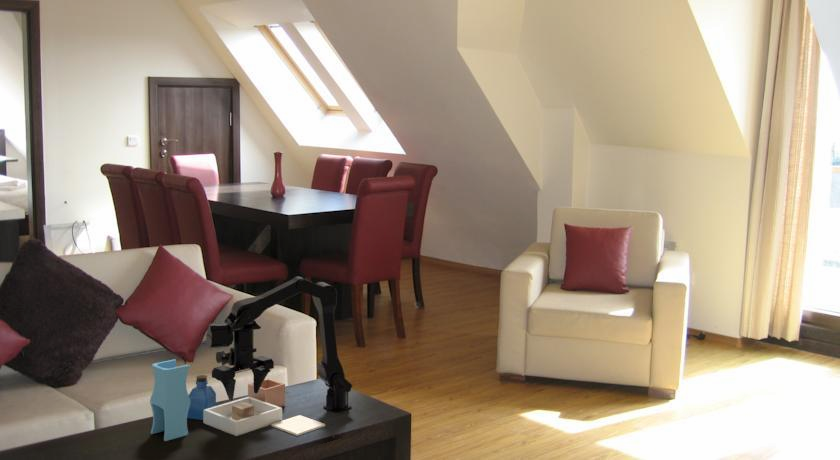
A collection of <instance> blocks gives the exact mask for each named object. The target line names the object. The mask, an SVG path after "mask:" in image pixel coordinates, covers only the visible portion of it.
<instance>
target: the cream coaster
mask: <svg viewBox="0 0 840 460" xmlns="http://www.w3.org/2000/svg"><path fill="white" fill-rule="evenodd" d="M270 426H271V427H272V428H275V429H278V430H280V431H283V432H286V433H288V434H290V435H294V436H296V437H298V436H302V435H304V434H307V433H310V432H312V431H315V430H318V429H320V428H321V429H322V428H324V427H326V423H323V422H321V421H318V420H315V419H311V418H309V417H307V416H303V415H301V414H299V415H298V414H297V415H295V416H293V417H289V418H286V419H282V421H280V422H277V423H274V424H271V425H270Z"/></svg>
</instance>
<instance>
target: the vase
mask: <svg viewBox="0 0 840 460" xmlns="http://www.w3.org/2000/svg"><path fill="white" fill-rule="evenodd" d="M151 366H152V367H151V368H152V371H153V375H154V385H153V386H154V387H153V389H152V394H151V396H150V399H149V403H150V407H151V411H152V418H153V419H152V425H151V430H150V434H151V435H153V434H154V435H155V434H157V433H161V432H164V434H163V441H164V442H167V441H170V440H175V439H177V438H178V439H179V438H181V437H185V436H188V435H189V429H188V418H187V415H188V410H189V407H190V398H189V394H188V390H187V378H188V377H187V376H188V373H189V371H190V370H189V369H190V366H191V364H185V365H181V366H177V359H176V358H175V359H170V360H166V361H165V360H164V361H161V362H160V361H159V362H155V363H152V364H151Z"/></svg>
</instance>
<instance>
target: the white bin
mask: <svg viewBox="0 0 840 460" xmlns="http://www.w3.org/2000/svg"><path fill="white" fill-rule="evenodd" d="M243 402H246V403H248V404H251V405H254V416H250V417H247V418H244V419H241V420H238V421H236V420H234V419H232V405H236V404H239V403H243ZM280 421H283V407H278V406H275V405H272V404H270V403H267V402H264V401H261V400H258V399H255V398H253V397H250V396H249V397H248V396H246V397H242V398H239V399H235V400H232V401H229V402H228V401H227V402H225V403H221V404H218V405H216V406H215V407H211V408H208V409H204V410H203V423H202V424H205V425H207V426H209V427H212V428H215V429H217V430H220V431H222V432H224V433H227V434H229V435H232V436H235V437H238V436H242V435H245V434H247V433H250V432H253V431H256V430H259V429H263V428H265V427H266V428H267V427H269V426H271V424H274V423H277V422H280Z"/></svg>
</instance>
